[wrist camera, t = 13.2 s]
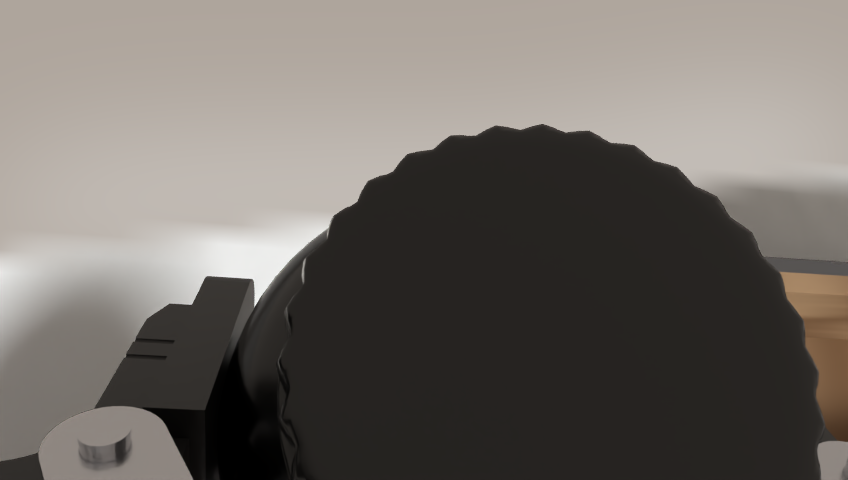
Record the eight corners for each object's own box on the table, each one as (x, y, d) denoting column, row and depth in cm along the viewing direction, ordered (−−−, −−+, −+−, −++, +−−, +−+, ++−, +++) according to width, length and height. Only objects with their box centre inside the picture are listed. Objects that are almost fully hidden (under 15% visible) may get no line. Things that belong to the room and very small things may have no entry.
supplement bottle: (285, 316, 18) (219, -18, 7) (550, 337, 19) (869, 59, 8) (247, 625, 15) (50, 860, 4) (557, 635, 16) (1052, 863, 5)
